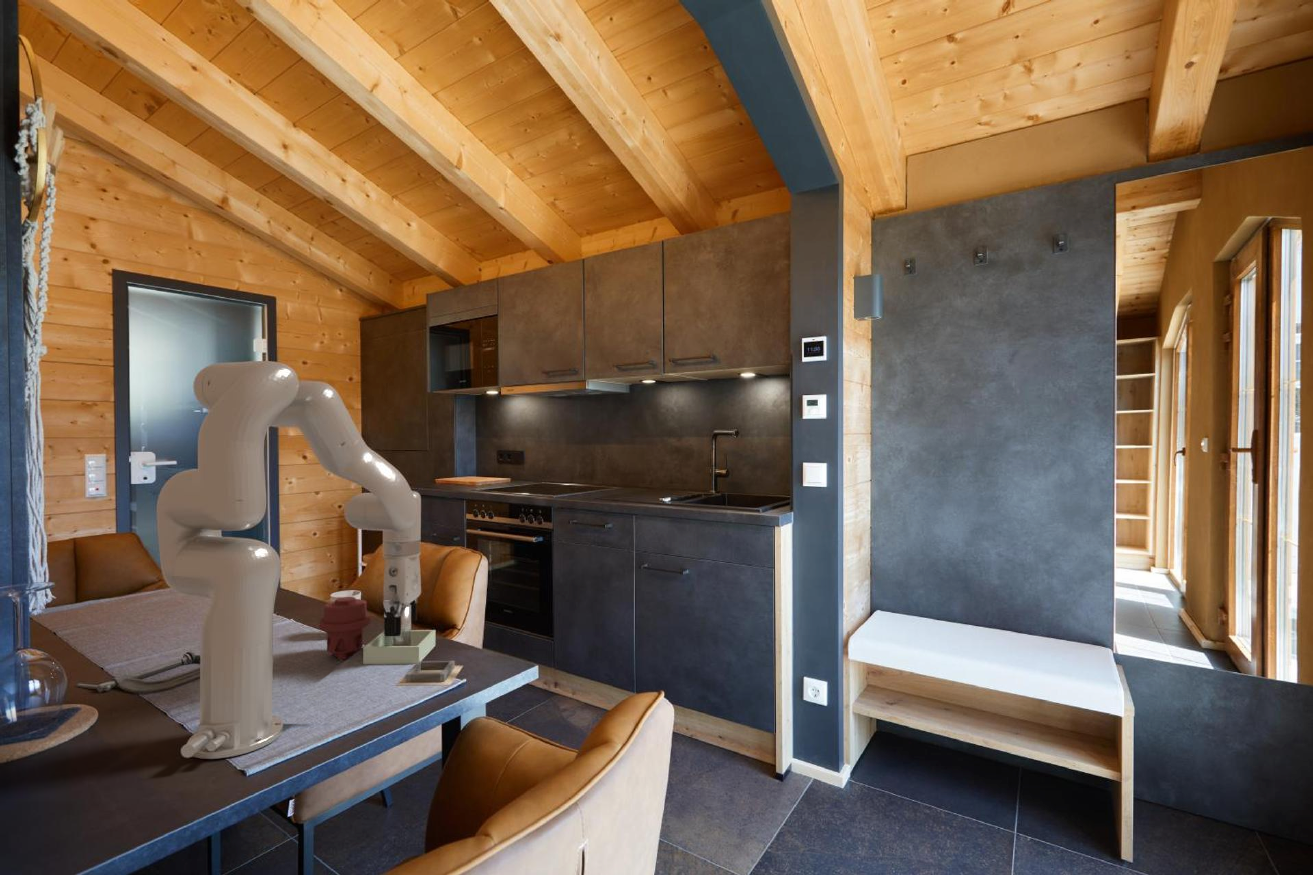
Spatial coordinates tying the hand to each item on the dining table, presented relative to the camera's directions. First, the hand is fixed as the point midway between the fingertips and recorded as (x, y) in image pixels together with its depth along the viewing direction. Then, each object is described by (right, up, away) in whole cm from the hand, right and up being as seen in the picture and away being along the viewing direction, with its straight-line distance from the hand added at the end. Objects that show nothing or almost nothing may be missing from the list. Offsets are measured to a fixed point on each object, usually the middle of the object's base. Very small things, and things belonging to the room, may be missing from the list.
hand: (401, 628), depth 134 cm
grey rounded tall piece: (0, -6, 0) cm, 6 cm away
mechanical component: (-13, -7, +2) cm, 15 cm away
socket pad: (+11, -7, -12) cm, 17 cm away
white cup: (-20, -7, +16) cm, 26 cm away
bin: (0, -7, 0) cm, 7 cm away
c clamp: (-43, -7, -10) cm, 45 cm away
